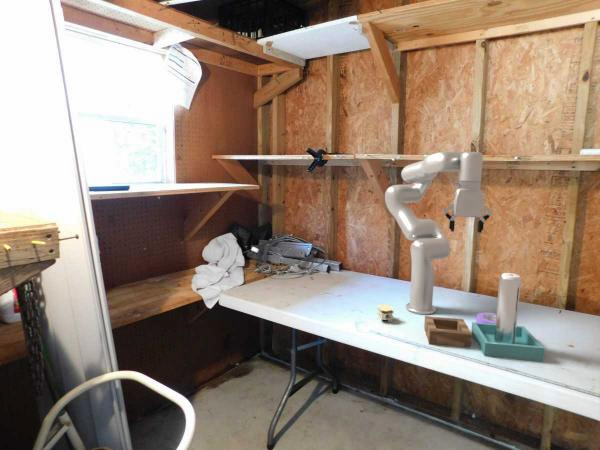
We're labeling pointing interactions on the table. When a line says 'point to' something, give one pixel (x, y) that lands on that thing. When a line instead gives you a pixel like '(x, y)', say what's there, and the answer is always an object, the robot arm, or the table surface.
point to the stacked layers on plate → (385, 312)
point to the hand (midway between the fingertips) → (465, 231)
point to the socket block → (447, 332)
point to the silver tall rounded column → (507, 308)
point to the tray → (522, 349)
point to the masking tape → (486, 318)
